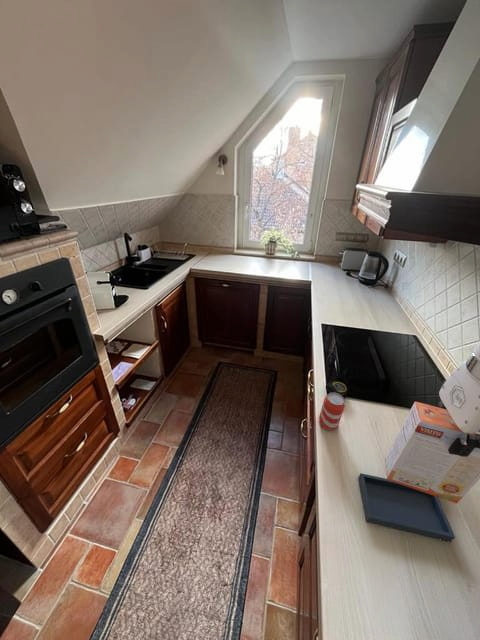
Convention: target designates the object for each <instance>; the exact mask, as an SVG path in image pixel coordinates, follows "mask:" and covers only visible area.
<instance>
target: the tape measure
mask: <svg viewBox="0 0 480 640" xmlns="http://www.w3.org/2000/svg"><path fill="white" fill-rule="evenodd" d="M325 390H326V391H327V392H328V394H329V393H337V394H340V395H341V396H342V397H343V398H344V399H345V397H346V396H348V387H347V386H346V384H345V383H343V382H342V381H338V380H333V381H331V382H329V383H327V384H326V385H325Z"/></svg>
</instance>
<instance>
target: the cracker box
mask: <svg viewBox="0 0 480 640" xmlns="http://www.w3.org/2000/svg"><path fill="white" fill-rule="evenodd" d="M403 421H404V422H403V423H402V425H401V427H400V429H399V430H398V433H397V435H396V436H395V438H394V440H393V443H392V444H391V446H390V448H389V450H388V451H387V454H386V456H385V458H384V461H385V462H384V463H385V471H386V479H388V480H390V481H393V482H396V483H398V484H401V485H404V486H407V487H410V488H413V489H416V490H419V491H422V492H425V493H427V494H430V495H433V496H436V497H438V498H439V499H442V500H445V501H448V502H451V503H453V504H458V503H459V502H460V501H461V500H462V499H463V498H464V496H466V494H467V493H468V492H469V491H470V490H471V489H472V488H473V487H474V486H475V485H476V483H478V482H479V480H480V449H478V448H475V449H474V450H473V451H472V452H471V453H470V455H469V456H467V457H462V456H459V455H454V454H450V453H449V452H448V449H449V447H450V446H451V445H452V443H453V442H454V441H455V439H456V438H461V433H462V431H461V430H460V429H459V427H458V426H457V425H456V423H455V422H454V420H453V418H452V417H451V415H450V414H449V412H448V410H446V409H442V408H439V407H438V406H435V405H430V404H427V403H423V402H419V401H414V402H413V404H412V406H411V408H410V409H409V412H408V413H407V416H406V417H405V420H403ZM475 435H476V434H475V433H473V434H470V437H469V438H470V439H475Z"/></svg>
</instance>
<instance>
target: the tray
mask: <svg viewBox="0 0 480 640" xmlns="http://www.w3.org/2000/svg"><path fill="white" fill-rule="evenodd" d="M357 481H358V486H359V491H360V496H361V502H362V507H363V512H364V513H363V514H364V517H365V518H364V519H365V522H366V523H369V524H374V525H376V526H377V525H378V526H382V527H385V528H389V529H394V530H397V531H402V532H405V533H410V534H415V535H419V536H423V537H427V538H430V537H431V538H430V539H435V538H436V539H435V540H439V539H441V540H440V541H443V540H445V541H444V542H447V541H449V542H448V543H452V541H454V540H455V539H456V536H455V534H454V531H453V529H452V527H451V524H450V522H449V520H448V517H447V515H446V513H445V510H444V508H443V506H442V503H441V500H440V498H439V497H436V496H433V495H430V494H427V493H425V492H422V491H419V490H416V489H413V488H410V487H407V486H404V485H401V484H398V483H396V482H393V481H390V480H388V479H387V477H386V478H385V477H380V476H375V475H371V474H367V473H361V472H360V473H359V475H358V477H357Z"/></svg>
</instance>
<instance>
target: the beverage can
mask: <svg viewBox="0 0 480 640" xmlns="http://www.w3.org/2000/svg"><path fill="white" fill-rule="evenodd" d="M345 407H346V405H345V397H344V398H343V397H342V396H341V395H340V394H337V393H329V392H328V394H327V395H326V396H325V397H324V399H323V402H322V406H321V409H320V413H319V417H318V423H319V424H320V425H321V427H322V428H324V429H326V430H328V431H333V430H336V429H337V428H338V427H339V425H340V422H341V419H342V417H343V413H344V411H345Z"/></svg>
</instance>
